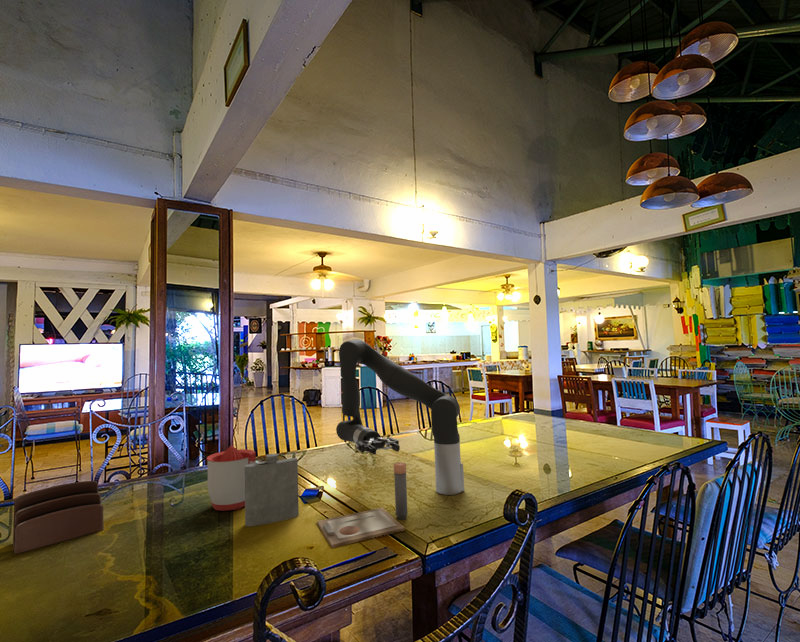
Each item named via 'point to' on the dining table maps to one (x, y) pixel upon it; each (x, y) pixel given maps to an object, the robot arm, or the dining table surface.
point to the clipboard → (358, 527)
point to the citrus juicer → (228, 477)
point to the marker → (400, 490)
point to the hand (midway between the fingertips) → (386, 450)
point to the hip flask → (271, 491)
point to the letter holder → (56, 515)
